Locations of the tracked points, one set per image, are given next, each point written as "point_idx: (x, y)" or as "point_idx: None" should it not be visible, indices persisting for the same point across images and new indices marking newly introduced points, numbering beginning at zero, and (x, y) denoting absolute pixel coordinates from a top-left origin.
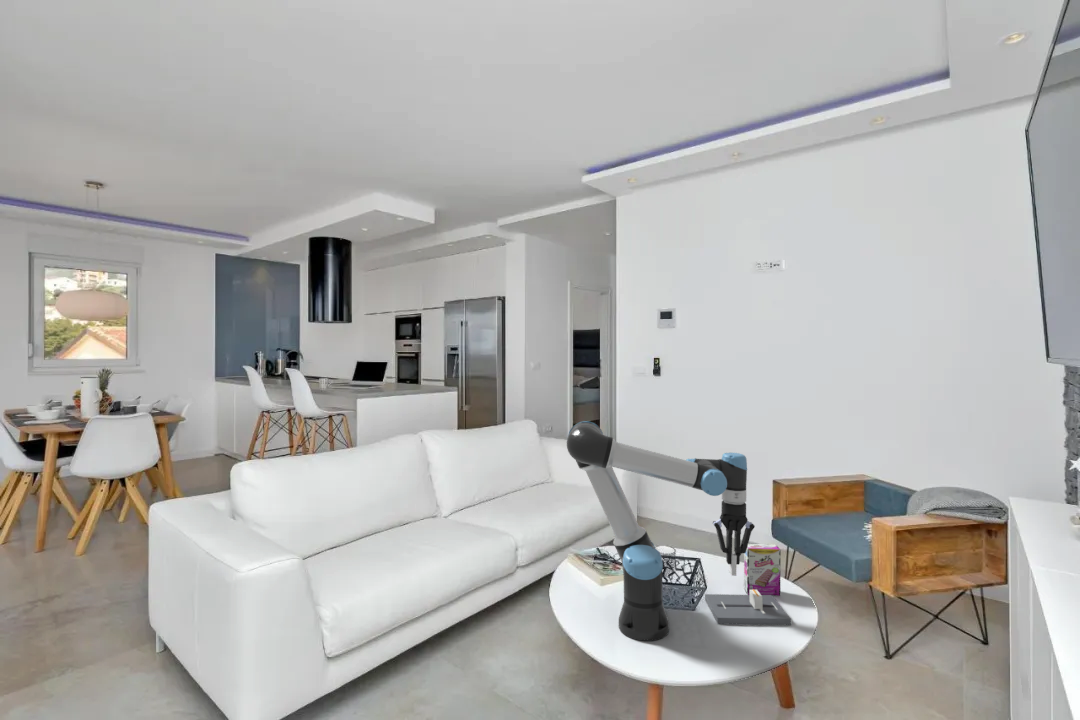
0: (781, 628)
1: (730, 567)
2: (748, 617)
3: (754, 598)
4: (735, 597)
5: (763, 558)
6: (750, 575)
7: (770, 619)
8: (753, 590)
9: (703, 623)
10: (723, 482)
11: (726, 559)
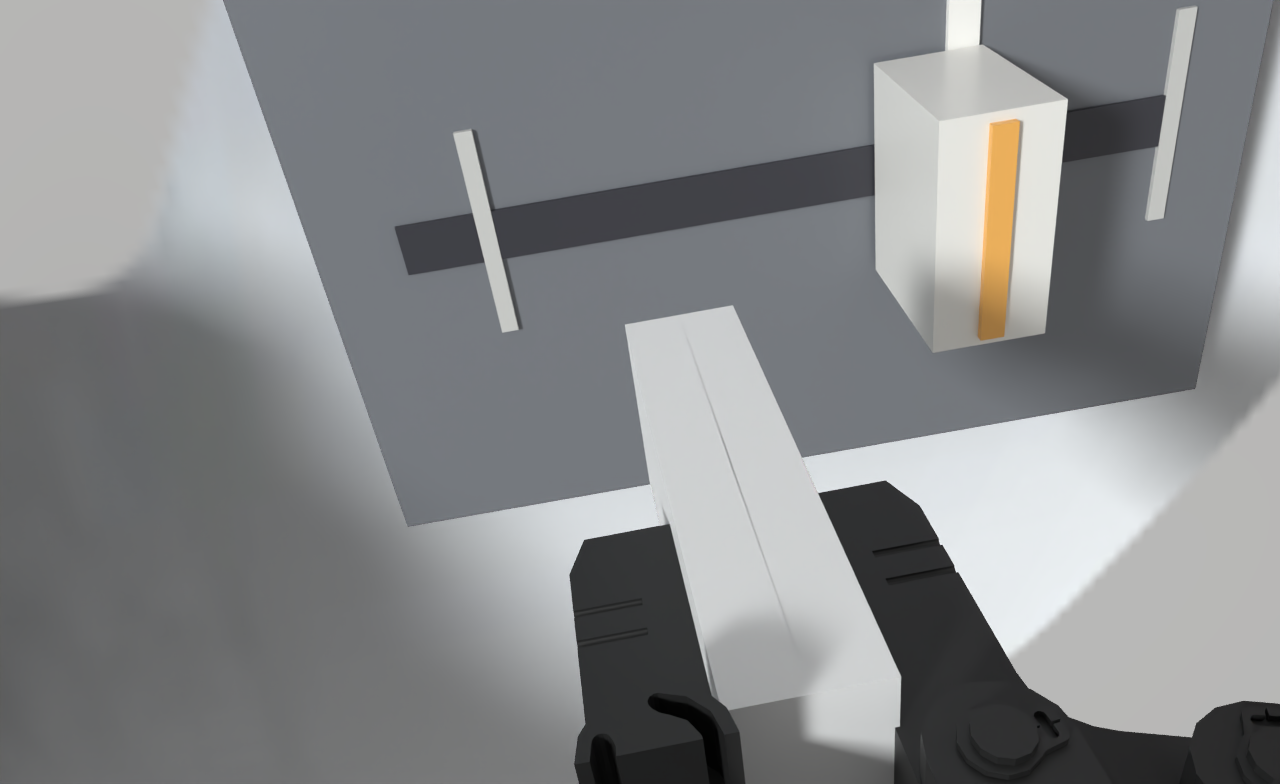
0: (1030, 424)
1: (658, 492)
2: None
3: (921, 332)
4: None
5: None
6: None
7: (972, 422)
8: (991, 167)
9: (265, 495)
10: None
11: (574, 615)
